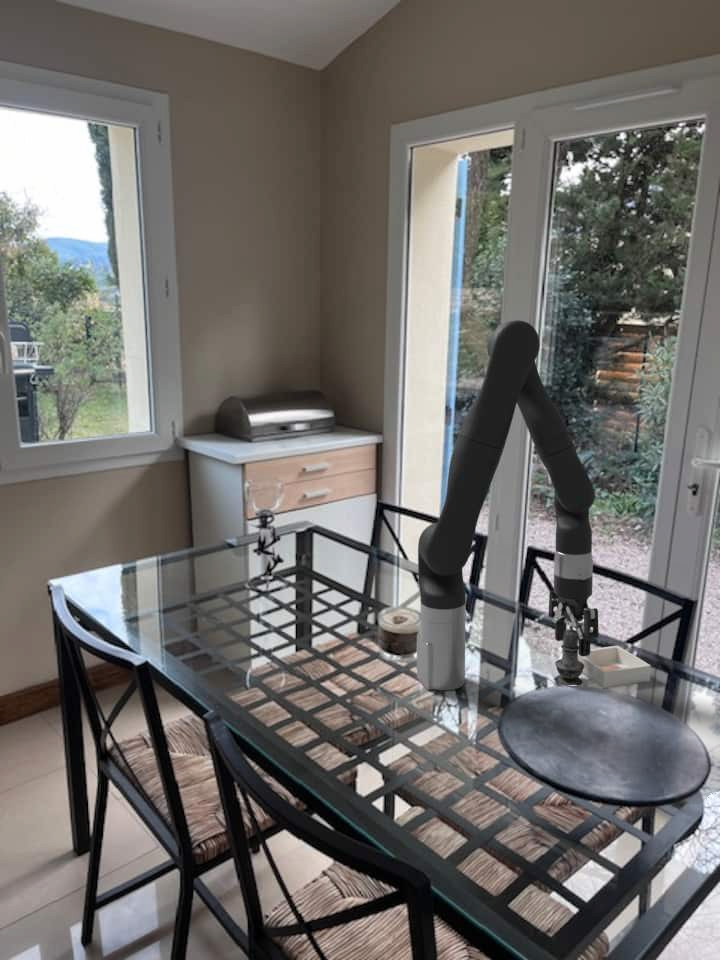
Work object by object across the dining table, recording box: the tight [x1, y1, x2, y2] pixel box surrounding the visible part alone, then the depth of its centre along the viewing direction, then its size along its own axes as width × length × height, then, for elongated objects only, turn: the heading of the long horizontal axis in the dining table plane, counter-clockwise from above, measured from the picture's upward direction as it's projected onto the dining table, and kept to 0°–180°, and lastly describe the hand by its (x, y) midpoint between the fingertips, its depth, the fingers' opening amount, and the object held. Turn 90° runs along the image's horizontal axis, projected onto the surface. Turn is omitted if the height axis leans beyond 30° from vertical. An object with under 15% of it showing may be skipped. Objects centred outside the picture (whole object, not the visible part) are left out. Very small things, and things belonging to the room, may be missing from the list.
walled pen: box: [578, 645, 652, 689], centre depth 152 cm, size 11×11×4 cm
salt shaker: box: [554, 625, 585, 686], centre depth 148 cm, size 6×6×12 cm
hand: (572, 647), depth 148 cm, fingers open, 8 cm apart
